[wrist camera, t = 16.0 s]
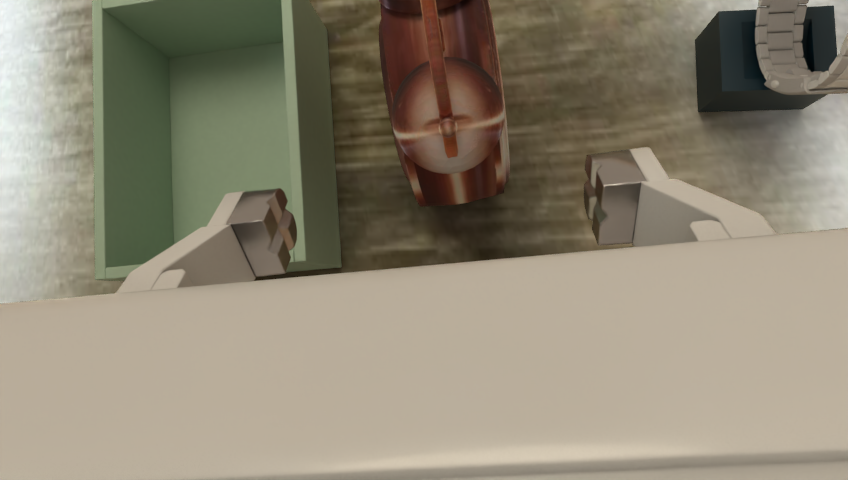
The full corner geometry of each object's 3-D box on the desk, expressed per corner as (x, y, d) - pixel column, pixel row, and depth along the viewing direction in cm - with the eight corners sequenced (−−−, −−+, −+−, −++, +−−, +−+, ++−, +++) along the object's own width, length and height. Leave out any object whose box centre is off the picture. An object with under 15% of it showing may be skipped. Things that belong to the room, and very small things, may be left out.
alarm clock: (506, 213, 31) (525, 138, 16) (426, 225, 31) (370, 164, 16) (479, 39, 32) (473, -182, 17) (402, 53, 32) (331, -149, 17)
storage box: (169, 282, 33) (94, 280, 26) (163, 52, 34) (91, -1, 28) (341, 267, 31) (305, 261, 25) (327, 29, 33) (290, -32, 27)
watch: (795, 2, 30) (972, -164, 19) (803, 139, 29) (993, 48, 18) (692, 8, 30) (805, -150, 20) (697, 142, 30) (818, 55, 19)
